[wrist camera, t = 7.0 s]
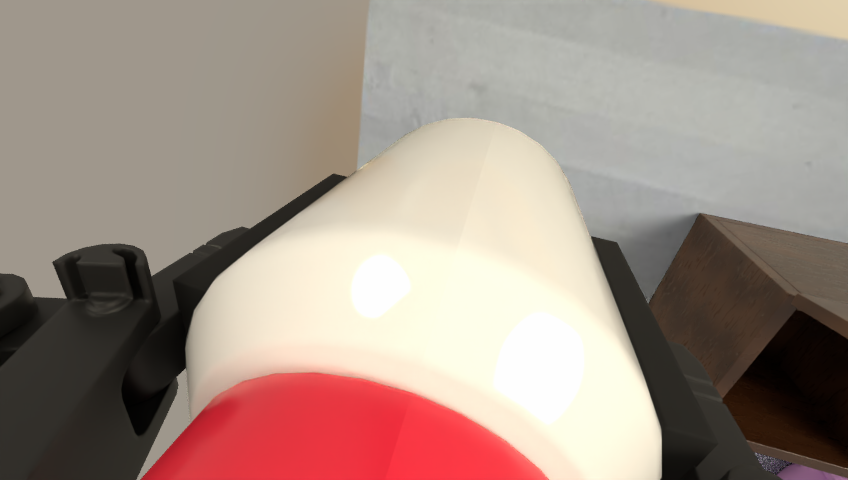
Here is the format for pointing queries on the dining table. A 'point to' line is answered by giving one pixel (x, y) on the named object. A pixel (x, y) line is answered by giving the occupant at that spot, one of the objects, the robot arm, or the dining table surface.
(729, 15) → the dining table surface
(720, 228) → the chest
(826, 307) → the lid
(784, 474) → the teapot
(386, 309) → the pill bottle
